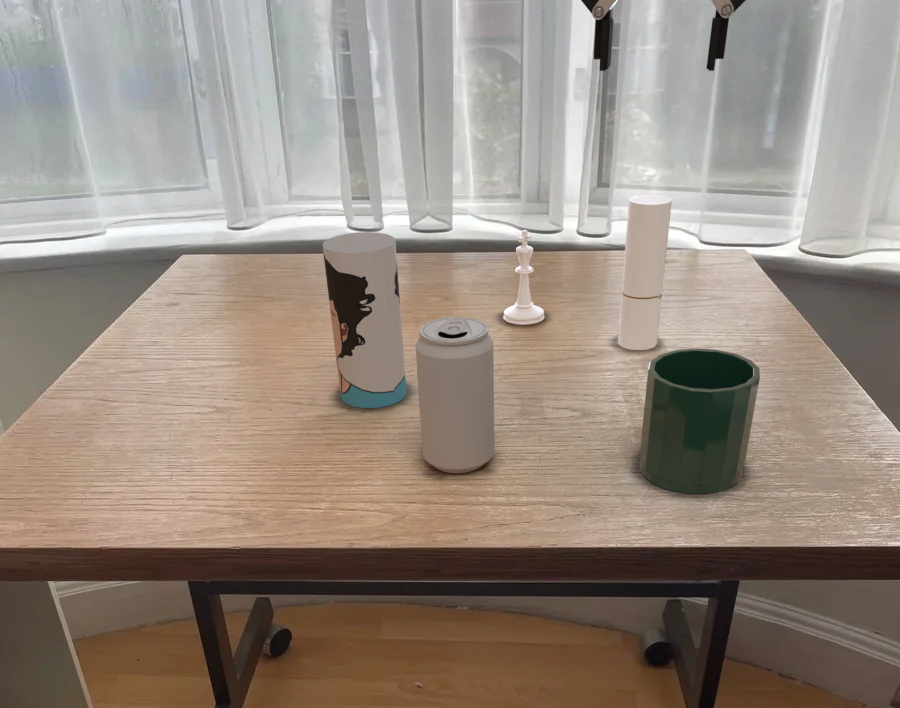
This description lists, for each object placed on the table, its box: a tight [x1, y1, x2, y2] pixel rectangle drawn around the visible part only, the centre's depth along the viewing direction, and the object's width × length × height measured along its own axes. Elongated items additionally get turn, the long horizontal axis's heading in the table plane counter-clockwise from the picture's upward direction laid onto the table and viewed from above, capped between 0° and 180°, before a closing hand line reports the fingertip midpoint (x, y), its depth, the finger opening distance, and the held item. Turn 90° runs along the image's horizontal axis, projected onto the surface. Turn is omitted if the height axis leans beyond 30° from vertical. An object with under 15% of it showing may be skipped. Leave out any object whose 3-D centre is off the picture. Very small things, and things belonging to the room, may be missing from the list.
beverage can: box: [415, 316, 495, 474], centre depth 76 cm, size 6×6×12 cm
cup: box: [322, 231, 407, 409], centre depth 87 cm, size 7×7×15 cm
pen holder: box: [638, 347, 761, 495], centre depth 74 cm, size 9×9×9 cm
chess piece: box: [502, 229, 545, 326], centre depth 105 cm, size 5×5×10 cm
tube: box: [617, 193, 673, 351], centre depth 96 cm, size 4×4×15 cm
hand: (657, 68), depth 83 cm, fingers open, 9 cm apart
